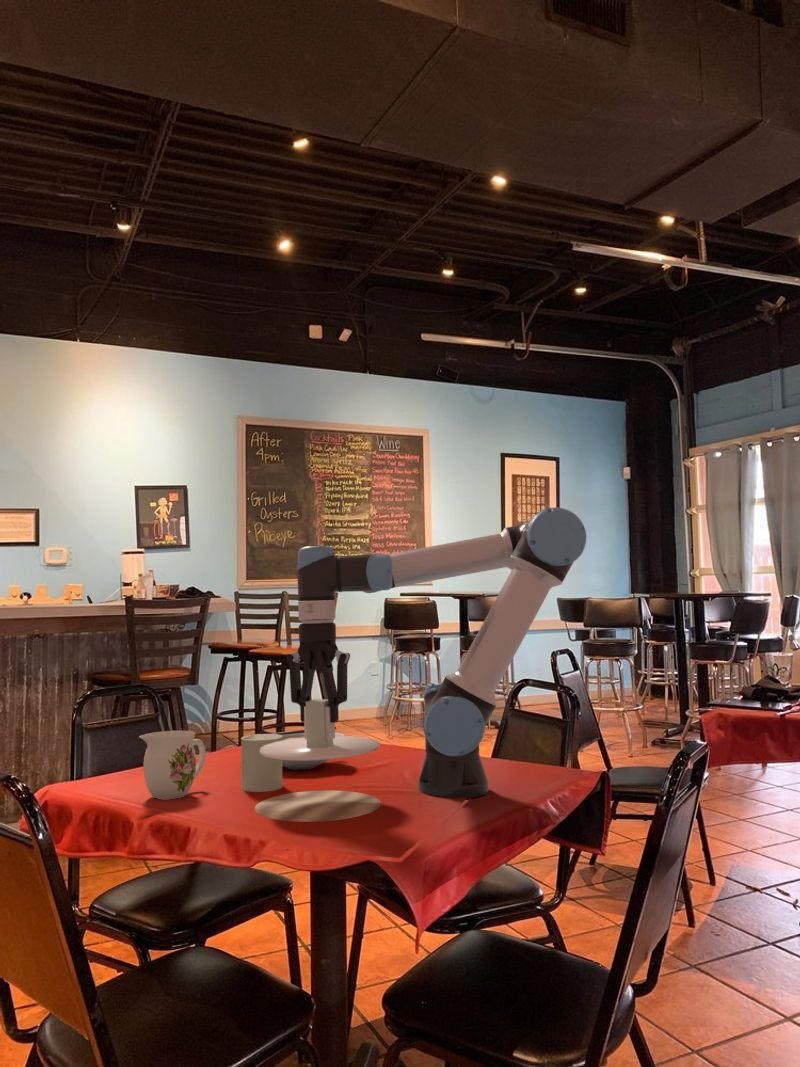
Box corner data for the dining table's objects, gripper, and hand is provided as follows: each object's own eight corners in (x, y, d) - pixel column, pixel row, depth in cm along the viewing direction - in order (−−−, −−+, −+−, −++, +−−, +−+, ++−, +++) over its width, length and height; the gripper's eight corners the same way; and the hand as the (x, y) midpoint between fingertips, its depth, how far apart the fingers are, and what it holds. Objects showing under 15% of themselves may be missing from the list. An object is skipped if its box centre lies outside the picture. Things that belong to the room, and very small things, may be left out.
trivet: (398, 797, 168) (398, 794, 168) (350, 829, 145) (350, 825, 145) (291, 790, 177) (291, 787, 177) (230, 819, 153) (230, 815, 153)
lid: (396, 740, 169) (395, 694, 170) (351, 762, 146) (350, 708, 147) (294, 737, 177) (293, 693, 178) (236, 758, 154) (235, 707, 155)
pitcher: (221, 789, 178) (222, 726, 179) (157, 807, 163) (158, 738, 164) (187, 784, 184) (187, 723, 185) (122, 801, 169) (123, 734, 170)
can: (237, 787, 180) (238, 733, 181) (278, 783, 183) (278, 730, 184) (243, 796, 171) (244, 739, 173) (286, 792, 175) (286, 736, 176)
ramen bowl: (270, 781, 186) (270, 745, 186) (238, 765, 205) (238, 733, 206) (366, 769, 198) (365, 735, 199) (327, 755, 218) (326, 724, 219)
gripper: (271, 623, 163) (273, 740, 161) (348, 621, 158) (351, 742, 155) (288, 622, 170) (290, 734, 168) (362, 620, 165) (366, 736, 162)
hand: (319, 738), depth 162 cm, fingers closed on lid, 4 cm apart
